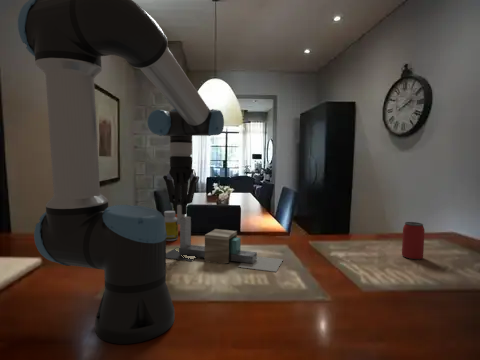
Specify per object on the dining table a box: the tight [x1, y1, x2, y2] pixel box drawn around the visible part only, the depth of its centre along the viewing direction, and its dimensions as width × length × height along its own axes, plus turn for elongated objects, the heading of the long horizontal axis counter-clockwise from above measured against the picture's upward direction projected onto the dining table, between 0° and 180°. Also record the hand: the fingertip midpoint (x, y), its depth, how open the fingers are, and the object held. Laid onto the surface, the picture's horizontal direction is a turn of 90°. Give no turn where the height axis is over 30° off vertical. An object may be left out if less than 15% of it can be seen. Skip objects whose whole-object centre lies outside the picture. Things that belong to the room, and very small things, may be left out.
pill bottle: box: [163, 210, 179, 242], centre depth 128 cm, size 6×6×12 cm
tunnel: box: [204, 228, 238, 264], centre depth 104 cm, size 9×8×9 cm
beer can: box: [401, 221, 426, 261], centre depth 109 cm, size 7×7×12 cm
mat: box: [237, 255, 284, 273], centre depth 100 cm, size 12×12×1 cm
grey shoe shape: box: [166, 247, 194, 262], centre depth 109 cm, size 12×12×1 cm
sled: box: [178, 216, 258, 263], centre depth 105 cm, size 5×26×12 cm, turn 72°
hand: (180, 223), depth 109 cm, fingers closed
